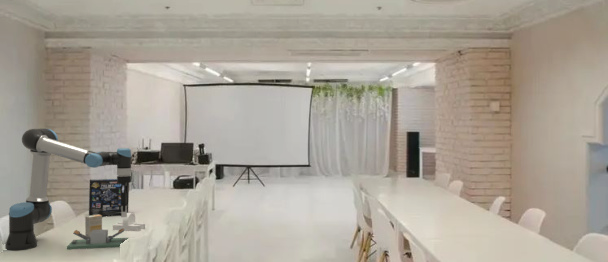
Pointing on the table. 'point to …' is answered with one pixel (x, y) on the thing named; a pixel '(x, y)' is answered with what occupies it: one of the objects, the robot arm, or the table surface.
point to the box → (105, 197)
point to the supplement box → (92, 223)
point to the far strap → (116, 234)
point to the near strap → (81, 235)
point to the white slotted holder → (129, 224)
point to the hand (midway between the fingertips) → (124, 217)
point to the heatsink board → (96, 241)
